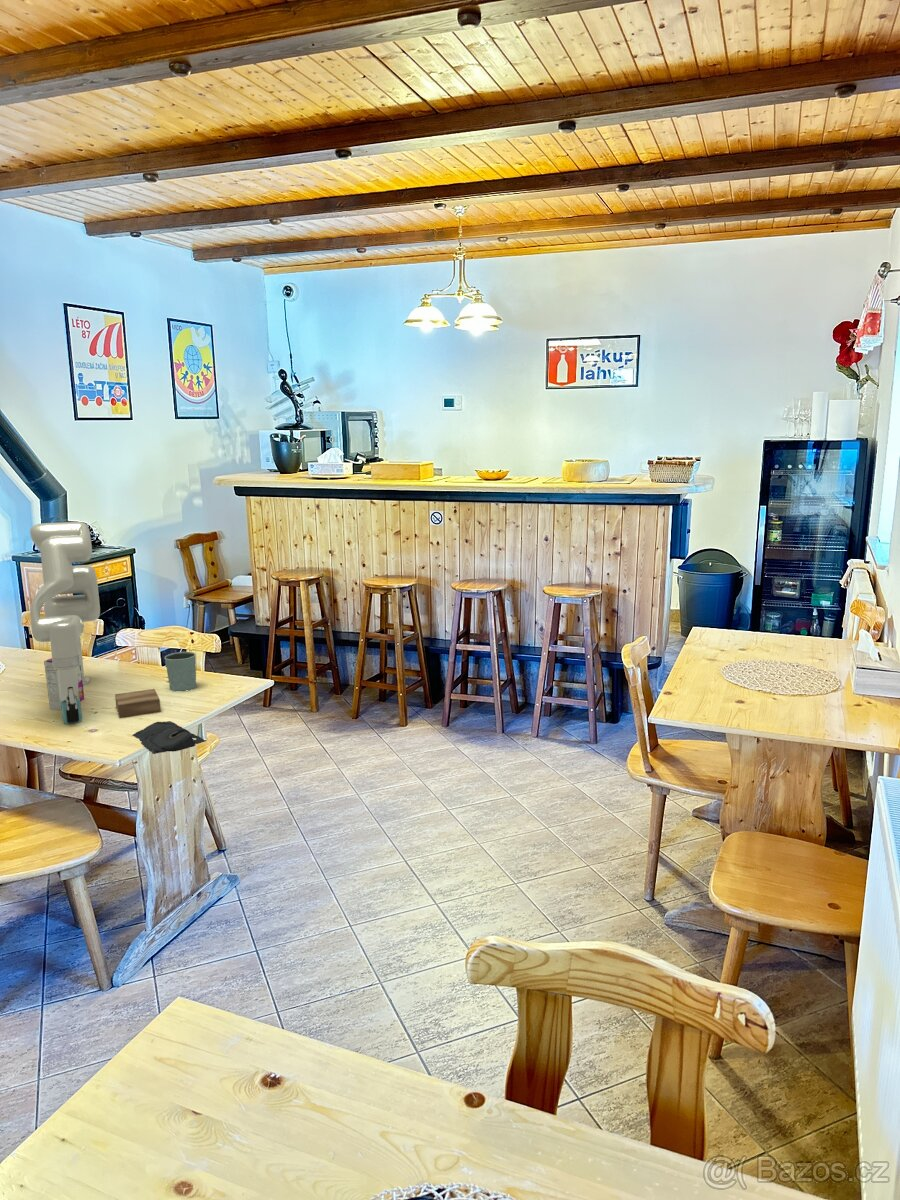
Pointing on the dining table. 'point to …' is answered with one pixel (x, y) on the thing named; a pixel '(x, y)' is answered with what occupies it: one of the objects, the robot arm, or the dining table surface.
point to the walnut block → (137, 703)
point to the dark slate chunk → (166, 737)
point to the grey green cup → (181, 670)
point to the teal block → (64, 708)
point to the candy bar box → (53, 685)
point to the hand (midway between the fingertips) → (72, 718)
